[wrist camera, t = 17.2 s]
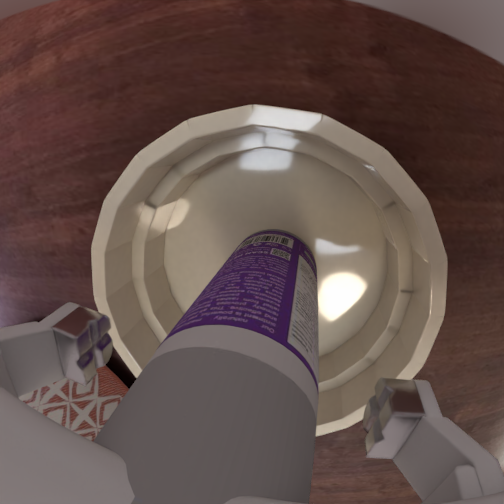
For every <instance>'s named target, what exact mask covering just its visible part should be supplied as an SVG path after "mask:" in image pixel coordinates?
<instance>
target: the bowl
mask: <svg viewBox="0 0 504 504" xmlns="http://www.w3.org/2000/svg"><path fill="white" fill-rule="evenodd" d="M267 229H279V230H284V231H287V232H290V233H292V234H294V235H296V236H298V237H299V238H300V239H302V240H303V241H304V242H305V243H306V244H307V245H308V247H309V248H310V250H311V251H312V253H313V255H314V258H315V262H316V268H317V287H318V327H319V394H318V412H317V425H316V436H320V435H324V434H327V433H331V432H334V431H338V430H341V429H345V428H348V427H350V426H352V425H354V424H355V423H357V422H359V421H361V420H362V419H363V415H364V411H365V407H366V405H367V403H368V400H369V399H370V398H371V397H373V396H374V395H376V394H375V385H376V383H377V381H378V380H379V379H380V378H381V377H384V378H394V379H404V380H412V379H413V377H414V376H415V375H416V374H417V373H418V372H419V370H420V369H421V368H422V367H423V366H424V363H425V361H426V359H427V357H428V355H429V353H430V350H431V348H432V346H433V344H434V341H435V339H436V337H437V334H438V332H439V329H440V327H441V324H442V322H443V319H444V315H445V305H446V290H447V265H448V262H447V255H446V252H445V248H444V245H443V242H442V239H441V235H440V232H439V229H438V226H437V223H436V220H435V217H434V214H433V212H432V209H431V206H430V203H429V202H428V199H427V198H426V197H425V195H424V194H423V193H422V191H421V190H420V189H419V188H418V186H417V185H416V184H415V183H414V181H413V180H412V179H411V178H410V176H409V175H408V174H407V173H406V172H405V170H404V169H403V168H402V167H401V166H400V164H399V163H398V162H397V161H396V160H395V159H394V157H393V156H392V155H391V154H390V153H389V152H388V151H387V150H386V149H384V147H382V146H380V145H379V144H377V143H375V142H374V141H372V140H370V139H369V138H367V137H365V136H363V135H362V134H360V133H358V132H356V131H354V130H353V129H351V128H349V127H347V126H345V125H344V124H342V123H340V122H338V121H336V120H334V119H332V118H330V117H328V116H326V115H323V114H321V113H316V112H310V111H303V110H297V109H290V108H283V107H275V106H267V105H259V104H253V105H251V104H250V105H245V106H240V107H236V108H231V109H226V110H222V111H218V112H213V113H209V114H205V115H201V116H197V117H193V118H190V119H188V120H185V121H184V122H182V123H181V124H179V125H178V126H176V127H174V128H173V129H171V130H170V131H168V132H167V133H165V134H164V135H162V136H161V137H159V138H158V139H157V140H155V141H154V142H152V143H151V144H149V145H148V146H146V147H145V148H144V149H142V150H141V151H139V152H138V154H137V155H135V157H134V158H133V159H132V161H131V162H130V164H129V165H128V166H127V168H126V169H125V170H124V172H123V173H122V175H121V176H120V178H119V179H118V180H117V182H116V183H115V185H114V186H113V188H112V189H111V191H110V192H109V194H108V195H107V196H106V199H104V202H103V206H102V209H101V212H100V216H99V219H98V223H97V227H96V231H95V234H94V238H93V242H92V246H91V248H92V249H91V259H92V279H93V294H94V300H95V302H96V305H97V308H98V311H99V313H102V314H105V315H107V316H108V317H109V318H110V323H111V329H110V330H109V331H108V334H109V335H110V337H111V338H112V341H113V346H114V348H115V349H116V351H117V352H118V354H119V355H120V357H121V358H122V359H123V361H124V362H125V364H126V365H127V367H128V368H129V369H130V371H131V372H132V373H133V375H134V376H135V377H136V378H137V377H138V376H139V375H140V373H141V372H142V370H143V369H144V368H145V366H146V365H147V363H148V362H149V360H150V359H151V358H152V356H153V355H154V353H155V352H156V350H157V349H158V347H159V346H160V344H161V343H162V342H163V341H164V339H165V338H166V337H167V336H168V334H169V333H170V332H171V330H172V329H173V328H174V327H175V325H176V324H177V323H178V321H179V320H180V319H181V318H182V316H183V315H184V314H185V313H186V311H187V310H188V309H189V307H190V306H191V305H192V304H193V302H194V301H195V300H196V299H197V297H198V296H199V295H200V294H201V292H202V291H203V290H204V289H205V287H206V286H207V285H208V283H209V282H210V281H211V280H212V278H213V277H214V276H215V275H216V273H217V272H218V271H219V270H220V268H221V267H222V266H223V265H224V263H225V262H226V261H227V260H228V258H229V257H230V256H231V255H232V253H233V252H234V251H235V250H236V248H237V247H238V246H239V245H240V244H241V243H242V242H243V241H244V240H245V239H246V238H247V237H248V236H250V235H252V234H254V233H256V232H258V231H262V230H267Z"/></svg>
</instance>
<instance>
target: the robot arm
mask: <svg viewBox="0 0 504 504" xmlns="http://www.w3.org/2000/svg"><path fill="white" fill-rule="evenodd" d="M110 329H111V323H110V318H109V317H108V316H107V315H105V314H102V313H99V312H96V311H94V310H91V309H88V308H86V307H82V306H80V305H78V304H75V303H72V302H68V303H66V304H65V305H63V306H62V307H60V308H59V309H57V310H56V311H54V312H53V313H52V314H50V315H49V316H47V317H46V318H44V319H43V320H42V321H40V322H39V323H38V322H36V321H34V322H29V323H23V324H18V325H13V326H7V327H2V328H0V504H131V503H132V501H133V499H134V497H135V495H134V493H133V491H132V488H131V486H130V483H129V480H128V475H127V468H126V464H125V462H124V460H123V459H122V458H121V457H120V456H119V455H118V454H117V453H115V452H114V451H112V450H110V449H107V448H105V447H103V446H101V445H99V444H97V443H95V442H93V441H91V440H89V439H87V438H85V437H83V436H81V435H79V434H77V433H75V432H73V431H71V430H69V429H68V428H66V427H64V426H62V425H60V424H59V423H57V422H55V421H53V420H52V419H50V418H48V417H47V416H45V415H43V414H42V413H40V412H38V411H37V410H35V409H34V408H32V407H30V406H29V405H27V404H26V403H24V402H23V401H21V400H20V399H19V396H22V395H24V394H27V393H30V392H32V391H35V390H37V389H40V388H42V387H45V386H47V385H49V384H52V383H54V382H57V381H59V380H62V379H64V377H65V378H68V379H70V380H72V381H74V382H76V383H79V384H81V385H83V386H86V385H87V384H88V383H89V382H90V381H91V380H92V379H93V378H94V377H95V376H96V375H97V370H96V369H97V368H100V367H103V366H105V365H106V364H107V362H108V361H109V359H110V357H111V355H112V350H113V341H112V338H111V337H110V335H109V334H108V331H109V330H110ZM375 394H376V395H374V396H373V397H371V398H370V399H369V400H368V403H367V405H366V407H365V411H364V415H363V429H364V430H365V431H366V432H367V433H368V435H367V436H366V438H365V451H366V457H370V458H384V459H393V461H394V463H395V464H396V465H397V467H398V468H399V470H400V471H401V472H402V474H403V475H404V476H405V478H406V479H407V480H408V482H409V483H410V484H411V486H412V487H413V489H414V490H415V491H416V493H417V494H418V495H419V497H420V498H421V499H422V501H423V502H422V503H421V504H504V475H503V472H502V470H501V467H500V464H499V462H498V459H496V458H495V457H494V456H493V455H492V454H490V453H489V452H488V451H487V450H486V449H484V448H483V447H482V446H481V445H480V444H478V443H477V442H476V441H475V440H474V439H472V438H471V437H470V436H469V435H468V434H466V433H465V432H464V431H463V430H462V429H460V428H459V427H458V426H457V425H456V424H454V423H453V422H452V421H451V420H450V419H448V418H447V417H442V414H441V411H440V409H439V406H438V403H437V401H436V398H435V395H434V393H433V390H432V388H431V385H430V383H429V382H428V381H427V380H404V379H394V378H384V377H381V378H380V379H379V380H378V381H377V383H376V385H375ZM224 504H306V503H297V502H290V501H283V500H276V499H270V498H264V497H258V496H239V497H236V498H233V499H230V500H229V501H227V502H226V503H224Z"/></svg>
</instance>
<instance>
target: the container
mask: <svg viewBox="0 0 504 504" xmlns="http://www.w3.org/2000/svg"><path fill="white" fill-rule="evenodd" d="M318 394H319V327H318V287H317V268H316V262H315V258H314V255H313V253H312V251H311V250H310V248H309V247H308V245H307V244H306V243H305V242H304V241H303V240H302V239H300V238H299V237H298V236H296V235H294V234H292V233H290V232H287V231H284V230H279V229H267V230H262V231H258V232H256V233H254V234H252V235H250V236H248V237H247V238H246V239H245V240H244V241H243V242H242V243H241V244H240V245H239V246H238V247H237V248H236V250H235V251H234V252H233V253H232V255H231V256H230V257H229V258H228V260H227V261H226V262H225V263H224V265H223V266H222V267H221V268H220V270H219V271H218V272H217V273H216V275H215V276H214V277H213V278H212V280H211V281H210V282H209V283H208V285H207V286H206V287H205V289H204V290H203V291H202V292H201V294H200V295H199V296H198V297H197V299H196V300H195V301H194V302H193V304H192V305H191V306H190V307H189V309H188V310H187V311H186V313H185V314H184V315H183V316H182V318H181V319H180V320H179V321H178V323H177V324H176V325H175V327H174V328H173V329H172V330H171V332H170V333H169V334H168V336H167V337H166V338H165V339H164V341H163V342H162V343H161V344H160V346H159V347H158V349H157V350H156V352H155V353H154V355H153V356H152V358H151V359H150V360H149V362H148V363H147V365H146V366H145V368H144V369H143V370H142V372H141V373H140V375H139V376H138V377H137V379H136V380H135V382H134V383H133V385H132V386H131V387H130V389H129V390H128V392H127V393H126V395H125V396H124V397H123V399H122V400H121V402H120V403H119V405H118V406H117V407H116V409H115V410H114V412H113V413H112V415H111V416H110V418H109V419H108V420H107V422H106V423H105V425H104V426H103V428H102V429H101V431H100V432H99V434H98V435H97V436H96V438H95V439H94V441H93V442H95V443H97V444H99V445H101V446H103V447H105V448H107V449H110V450H112V451H114V452H115V453H117V454H118V455H119V456H120V457H121V458H122V459H123V460H124V462H125V464H126V468H127V475H128V480H129V483H130V486H131V488H132V491H133V493H134V495H135V497H134V499H133V501H132V503H131V504H224V503H226V502H227V501H229V500H230V499H233V498H236V497H239V496H258V497H264V498H270V499H276V500H283V501H290V502H297V503H306V504H309V496H310V488H311V479H312V470H313V460H314V449H315V438H316V425H317V412H318Z"/></svg>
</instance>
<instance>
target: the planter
mask: <svg viewBox="0 0 504 504" xmlns="http://www.w3.org/2000/svg"><path fill="white" fill-rule="evenodd" d="M96 370H97V375H96V376H95V377H94V378H93V379H92V380H91V381H90V382H89V383H88V384H87V385H86V386H83V385H81V384H79V383H76V382H74V381H72V380H70V379H68V378H65V377H64V379H62V380H59V381H57V382H54V383H52V384H49V385H47V386H45V387H42V388H40V389H37V390H35V391H32V392H30V393H27V394H24V395H22V396H19V399H20V400H21V401H23V402H24V403H26V404H27V405H29V406H30V407H32V408H34V409H35V410H37V411H38V412H40V413H42V414H43V415H45V416H47V417H48V418H50V419H52V420H53V421H55V422H57V423H59V424H60V425H62V426H64V427H66V428H68V429H69V430H71V431H73V432H75V433H77V434H79V435H81V436H83V437H85V438H87V439H89V440H91V441H94V439H95V438H96V436H97V435H98V434H99V432H100V431H101V429H102V428H103V426H104V425H105V423H106V422H107V420H108V419H109V418H110V416H111V415H112V413H113V412H114V410H115V409H116V407H117V406H118V405H119V403H120V402H121V400H122V399H123V397H124V396H125V395H126V393H127V392H128V390H129V388H128V387H127V386H126V385H125V384H124V383H123V382H122V381H121V380H120V379H119V378H118V376H117V375H115V374H114V373H113V372H112V371H111V370H110V369H109V368H108V367H107V366H106V365H105V366H103V367H100V368H97V369H96Z"/></svg>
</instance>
